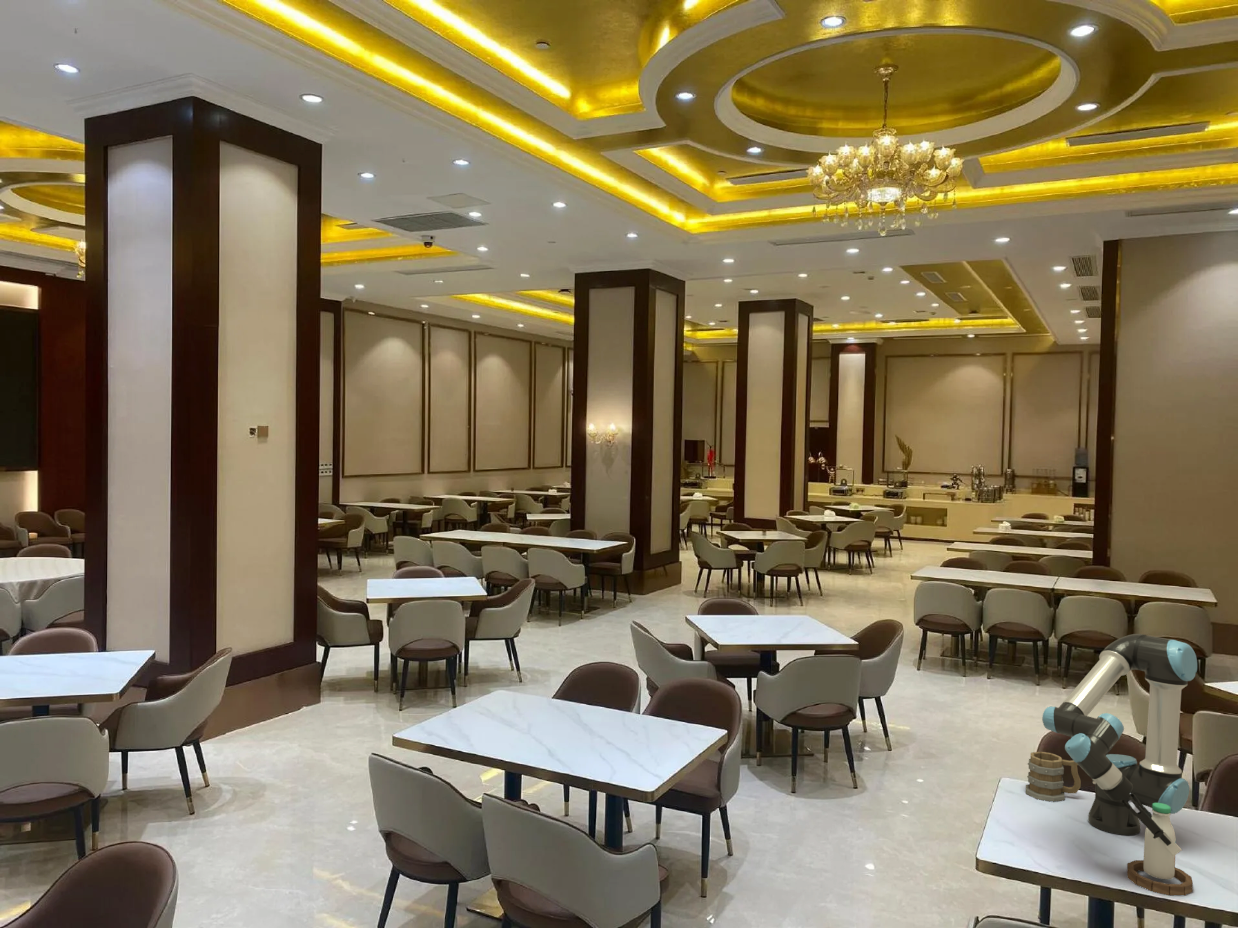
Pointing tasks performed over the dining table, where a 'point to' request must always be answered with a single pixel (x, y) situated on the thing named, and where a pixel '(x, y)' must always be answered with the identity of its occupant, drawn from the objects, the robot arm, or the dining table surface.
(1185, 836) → the dining table surface
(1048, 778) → the tankard
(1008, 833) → the dining table surface
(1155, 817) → the milk bottle
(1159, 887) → the walnut ring
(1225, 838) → the dining table surface
